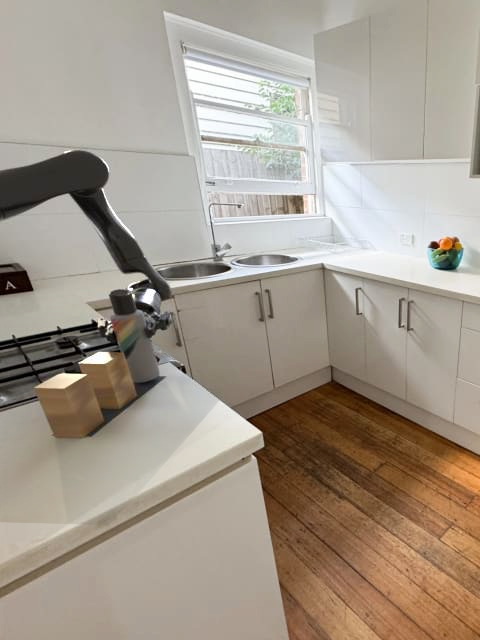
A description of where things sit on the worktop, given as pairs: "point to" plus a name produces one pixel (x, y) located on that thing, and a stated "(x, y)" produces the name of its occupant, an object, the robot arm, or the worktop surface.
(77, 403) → the oak block
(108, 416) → the mat
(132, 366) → the lotion bottle
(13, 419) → the worktop surface
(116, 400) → the oak block
